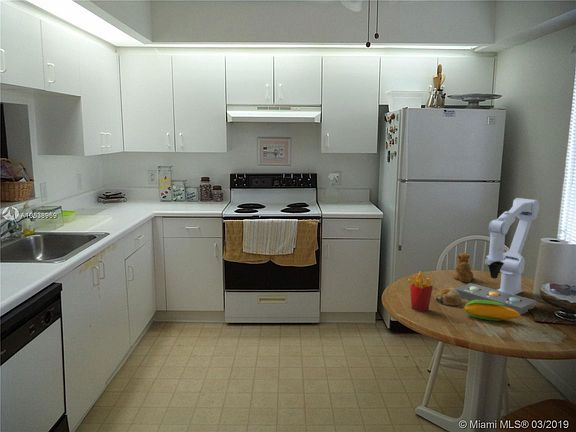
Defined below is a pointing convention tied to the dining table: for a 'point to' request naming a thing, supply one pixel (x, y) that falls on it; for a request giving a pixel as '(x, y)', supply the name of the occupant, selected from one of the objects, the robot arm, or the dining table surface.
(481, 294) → the button console
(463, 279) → the stuffed squirrel
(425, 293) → the french fries
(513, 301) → the blue button
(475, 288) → the green button
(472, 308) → the corn
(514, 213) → the robot arm
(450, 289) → the bread roll
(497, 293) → the orange button
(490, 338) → the dining table surface
